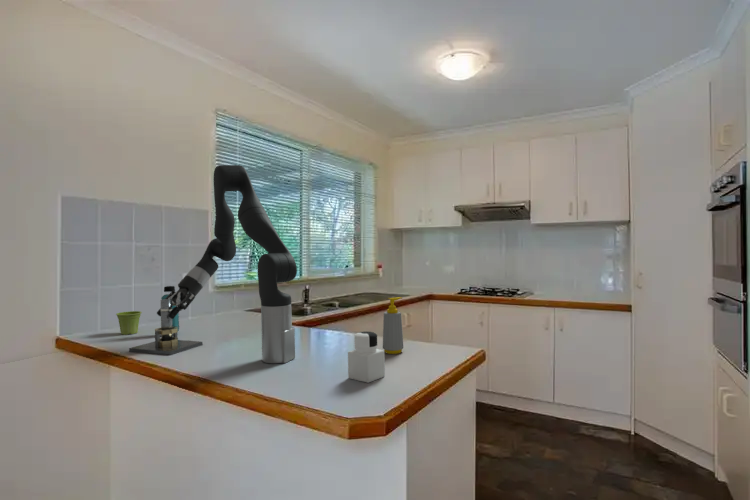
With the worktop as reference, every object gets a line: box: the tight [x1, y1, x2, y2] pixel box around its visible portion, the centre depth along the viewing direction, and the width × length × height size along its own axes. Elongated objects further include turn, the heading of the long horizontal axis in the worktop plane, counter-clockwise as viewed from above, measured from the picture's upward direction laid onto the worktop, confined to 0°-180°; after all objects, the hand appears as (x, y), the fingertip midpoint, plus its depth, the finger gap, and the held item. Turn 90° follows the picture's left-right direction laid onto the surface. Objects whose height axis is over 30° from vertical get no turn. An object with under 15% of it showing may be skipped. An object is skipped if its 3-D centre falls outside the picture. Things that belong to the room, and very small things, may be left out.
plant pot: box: [115, 310, 143, 336], centre depth 180 cm, size 9×9×9 cm
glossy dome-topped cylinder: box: [159, 299, 173, 341], centre depth 152 cm, size 4×4×16 cm
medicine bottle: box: [347, 331, 386, 384], centre depth 115 cm, size 7×7×12 cm
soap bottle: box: [382, 296, 404, 355], centre depth 141 cm, size 7×7×18 cm
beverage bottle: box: [160, 285, 180, 332], centre depth 176 cm, size 6×7×20 cm
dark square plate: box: [128, 326, 203, 356], centre depth 152 cm, size 18×15×7 cm
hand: (164, 316), depth 152 cm, fingers open, 8 cm apart
